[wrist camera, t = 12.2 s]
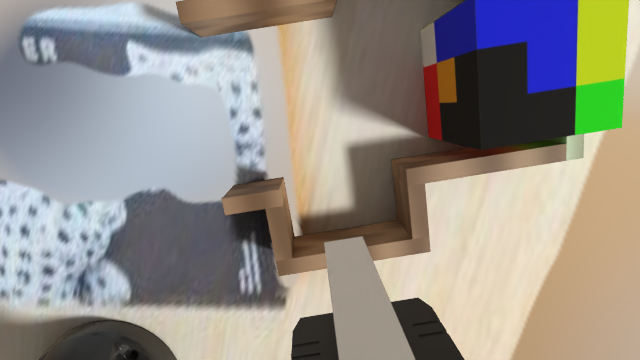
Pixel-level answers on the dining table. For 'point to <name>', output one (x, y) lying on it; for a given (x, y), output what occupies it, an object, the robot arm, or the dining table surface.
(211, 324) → the dining table surface
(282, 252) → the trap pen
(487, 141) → the puzzle toy
